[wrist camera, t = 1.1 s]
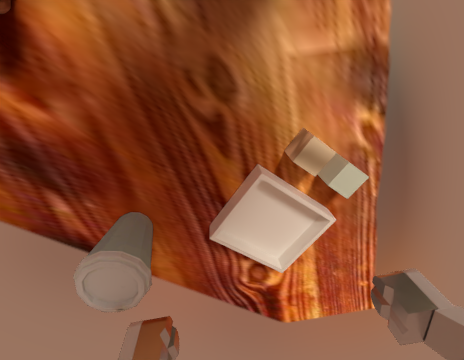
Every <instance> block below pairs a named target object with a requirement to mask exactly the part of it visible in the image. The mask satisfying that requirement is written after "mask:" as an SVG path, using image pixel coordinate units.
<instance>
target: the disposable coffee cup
mask: <svg viewBox="0 0 464 360" xmlns="http://www.w3.org/2000/svg"><path fill="white" fill-rule="evenodd" d="M152 240H153V224H152V222H151V220H150V219H149V218H148V216H146V215H144V214H142V213H140V212H130V213H128V214H125V215H123V216H121V217H120V218H119V219H118V220H117V222H116V223H115V224H114V225H113V226H112V227H111V229H110V230H109V231H108V232H107V233H106V234H105V236H104V237H103V238H102V239H101V240H100V241H99V243H98V244H97V245H96V246H95V247H94V248H93V250H92V251H91V252H90V253H89V254H88V256H87V257H85V258H83V259H82V261H81V262H80V264H79V266H78V267H77V269H76V270H75V274H74V276H73V277H74V282H75V286H76V291H77V295H78V296H79V297H80V298H81V299H82V300H83V301H84V302H85V303H86V304H87V305H88V306H90V307H92V308H95V309H97V310H100V311H102V312H120V311H125V310H127V309H129V308H132V307H135V306H137V304H138V303H139V302H140V300H141V299H142V298H143V297H144V295H145V294H146V293H147V292H148V290H149V289H150V286H151V285H152V282H151V280H152V279H151V255H152Z"/></svg>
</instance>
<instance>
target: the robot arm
mask: <svg viewBox="0 0 464 360" xmlns="http://www.w3.org/2000/svg"><path fill="white" fill-rule="evenodd" d="M372 283H373V284H374V285H375V287H374V288H373V289H372V290H371V298H372V302H373V305H374V307H375V309H376V310H377V312H378V313H379V315H380V316H382V317H383V318H385V319H387V320H388V328H389V329H390V331H391V333H392V334H393V335H394V337H395V338H396V340H397V341H398V343H399V344H400V345H406V344H413V343H418V342H424V343H425V344H426V345H427V346H429V347H430V348H432V349H433V350H434V351H436V352H437V353H438V354H440V355H441V356H442V357H444V358H445V359H447V360H464V308H462V307H460V306H454V305H452V303H450V302H449V301H448V300H447V299H446V298H445V297H444V296H443V295H442V294H441V293H440V292H439V291H438V290H437V289H436V288H435V287H434V286H433V285H432V284H431V283H430V282H429V281H428V280H427V279H426V278H425V277H424V276H423V275H422V274H421V273H420V272H419V271H418V270H416V269H408V270H403V271H395V272H391V273H386V274H382V275H377V276H374V277H373V281H372ZM172 323H173V321H172V319H171V317H170V316H168V317H162V318H157V319H151V320H144V321H139V322H134V323H131V324H130V326H129V327H128V329H127V332H126V335H125V338H124V342H123V345H122V348H121V351H120V355H119V358H118V360H175V359H176V357H177V356H178V353H179V336H178V331H177V329H176V328H175V327H173V326H172Z"/></svg>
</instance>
